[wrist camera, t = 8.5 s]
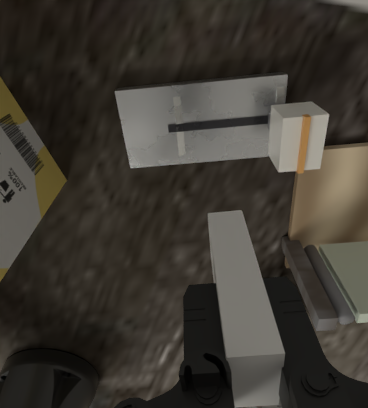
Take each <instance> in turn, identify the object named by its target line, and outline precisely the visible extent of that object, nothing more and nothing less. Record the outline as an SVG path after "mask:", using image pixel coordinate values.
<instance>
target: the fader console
mask: <svg viewBox="0 0 368 408" xmlns="http://www.w3.org/2000/svg"><path fill="white" fill-rule="evenodd" d="M287 78H288V74H286V73H285V72H276V73H266V74H256V75H245V76H235V77H225V78H214V79H204V80H194V81H184V82H173V83H163V84H153V85H142V86H132V87H122V88H117V89H116V90H115V96H116V101H117V106H118V111H119V115H120V120H121V125H122V130H123V135H124V140H125V145H126V149H127V154H128V159H129V164H130V168H140V167H152V166H164V165H175V164H187V163H199V162H210V161H222V160H234V159H245V158H257V157H268V156H269V155H268V147H269V132H270V131H269V129H268V112H271V105H280V104H285V101H286V89H287Z"/></svg>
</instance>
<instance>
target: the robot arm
mask: <svg viewBox="0 0 368 408" xmlns="http://www.w3.org/2000/svg"><path fill="white" fill-rule="evenodd" d="M208 226H209V239H210V252H211V262H212V271H213V279H214V283H210V284H198V285H189V286H188V288H187V290H186V292H185V295H184V297H183V305H184V361H183V362H182V364H181V366H180V371H179V379H180V380H179V381H178V383H177V384H176V385H175V386H174V387H173V388H172V389H171V390H169V391H168V392H166V393H164V394H162V395H160V396H158V397H155V398H153V399H151V400H149V401H145V400H143V399H141V398H128V399H126V400H124V401H122V402H120V403H119V404H118V405H117V406H116V407H114V408H236V407H252V406H269V405H279V398H280V401H281V405H282V408H368V383H365V382H361V381H357V380H354V379H352V378H349V377H347V376H345V375H343V374H342V373H340V372H339V371H337V370H336V369H335V368H334V367H333V366H332V365H331V364H330V363H329V361H328V360H327V359H326V357H325V355H324V353H323V351H322V348H321V346H320V344H319V341H318V339H317V336H316V334H315V331H314V329H313V327H312V324H311V322H310V319H309V317H308V315H307V313H306V310H305V307H304V305H303V302H302V301H301V298H300V295H299V293H298V290H297V288H296V286H295V285H294V284H293V283H292V282H291V281H290V280H289V279H288V278H287V277H273V278H262V275H261V272H260V269H259V265H258V262H257V259H256V255H255V252H254V249H253V246H252V242H251V239H250V236H249V232H248V229H247V226H246V222H245V219H244V216H243V213H242V210H237V211H227V212H216V213H208ZM98 380H99V378H98V374H97V372H96V370H95V369H94V368H93V367H92V366H91V365H90V364H89V363H88V362H86V361H85V360H83V359H81V358H79V357H77V356H75V355H72V354H69V353H66V352H62V351H57V350H49V349H33V350H26V351H22V352H19V353H16V354H14V355H12V356H11V357H9V358H8V359H7V360H6V362H5V364H4V366H3V368H2V370H1V372H0V408H89V406H90V404H91V403H92V401H93V399H94V397H95V394H96V390H97V385H98Z"/></svg>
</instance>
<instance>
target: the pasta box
mask: <svg viewBox="0 0 368 408" xmlns="http://www.w3.org/2000/svg"><path fill="white" fill-rule="evenodd" d="M66 181H67V179H66V178H65V176H64V175H63V173H62V172H61V170H60V169H59V167H58V165H57V164H56V162H55V161H54V159H53V158H52V156H51V155H50V153H49V152H48V150H47V148H46V147H45V145H44V144H43V142H42V141H41V139H40V138H39V136H38V134H37V133H36V131H35V130H34V128H33V127H32V125H31V124H30V122H29V120H28V119H27V117H26V116H25V114H24V113H23V111H22V110H21V108H20V106H19V105H18V103H17V102H16V100H15V99H14V97H13V96H12V94H11V92H10V91H9V89H8V88H7V86H6V85H5V83H4V82H3V80H2V78H1V77H0V282H1V280H2V279H3V277H4V276H5V274H6V272H7V271H8V269H9V268H10V266H11V265H12V263H13V262H14V260H15V259H16V257H17V256H18V254H19V253H20V251H21V250H22V248H23V247H24V245H25V244H26V242H27V240H28V239H29V237H30V236H31V234H32V233H33V231H34V230H35V228H36V227H37V225H38V224H39V222H40V221H41V219H42V218H43V216H44V215H45V213H46V212H47V210H48V208H49V207H50V205H51V204H52V202H53V201H54V199H55V198H56V196H57V195H58V193H59V192H60V190H61V189H62V187H63V186H64V184H65V183H66Z"/></svg>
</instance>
